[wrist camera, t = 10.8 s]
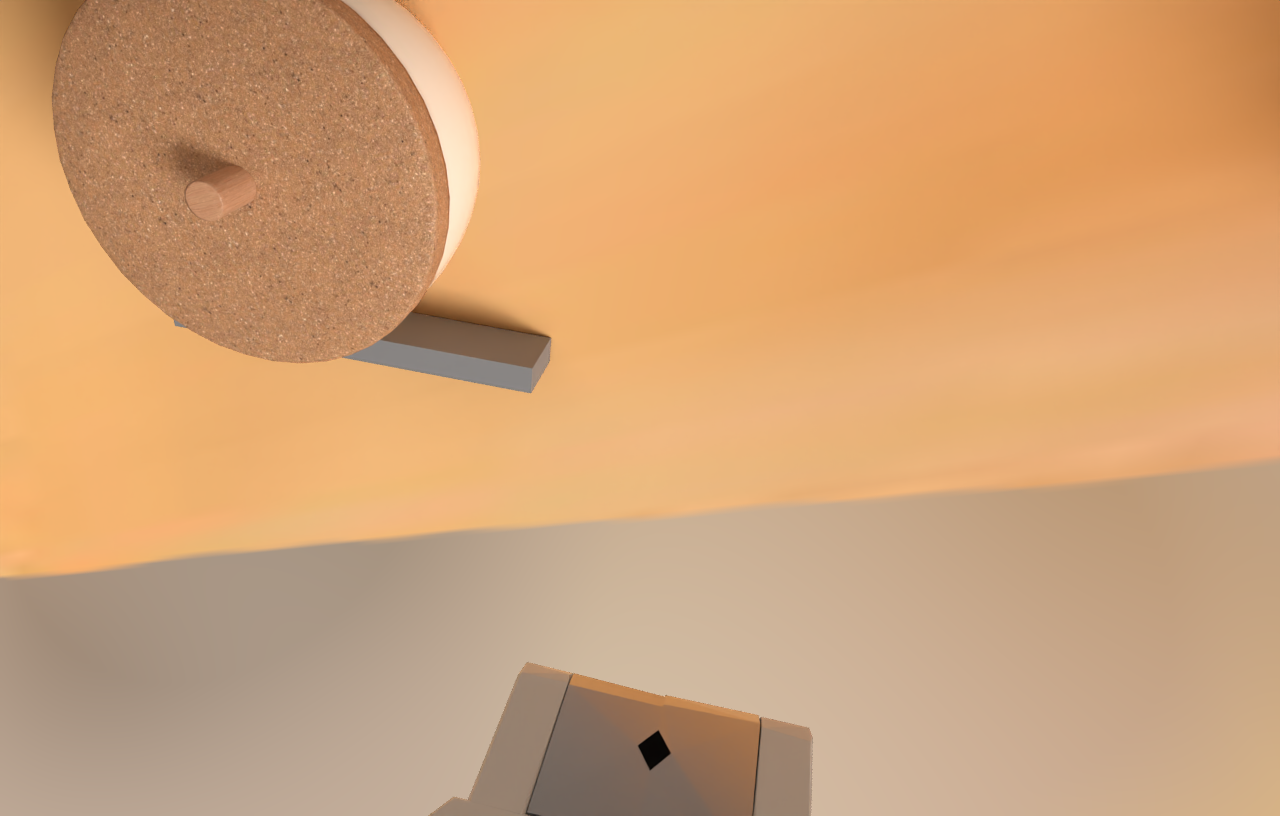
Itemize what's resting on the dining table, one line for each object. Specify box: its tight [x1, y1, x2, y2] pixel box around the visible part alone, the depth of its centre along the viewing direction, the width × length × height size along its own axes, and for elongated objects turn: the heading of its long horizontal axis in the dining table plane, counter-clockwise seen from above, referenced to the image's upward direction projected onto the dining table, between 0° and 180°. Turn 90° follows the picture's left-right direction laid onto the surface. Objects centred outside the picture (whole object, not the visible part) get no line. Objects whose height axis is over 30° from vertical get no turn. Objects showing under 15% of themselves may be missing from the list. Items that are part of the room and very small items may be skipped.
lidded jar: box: [52, 0, 480, 363], centre depth 25 cm, size 11×11×9 cm
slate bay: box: [174, 312, 551, 393], centre depth 28 cm, size 14×16×2 cm
